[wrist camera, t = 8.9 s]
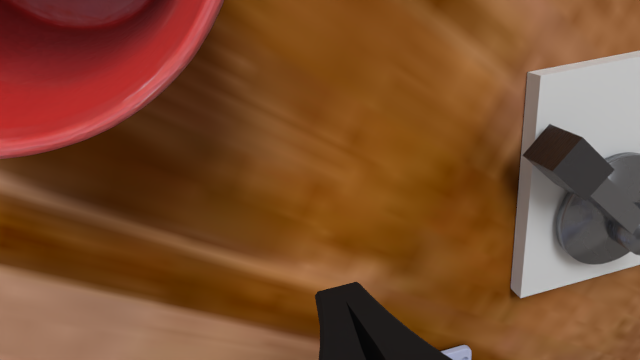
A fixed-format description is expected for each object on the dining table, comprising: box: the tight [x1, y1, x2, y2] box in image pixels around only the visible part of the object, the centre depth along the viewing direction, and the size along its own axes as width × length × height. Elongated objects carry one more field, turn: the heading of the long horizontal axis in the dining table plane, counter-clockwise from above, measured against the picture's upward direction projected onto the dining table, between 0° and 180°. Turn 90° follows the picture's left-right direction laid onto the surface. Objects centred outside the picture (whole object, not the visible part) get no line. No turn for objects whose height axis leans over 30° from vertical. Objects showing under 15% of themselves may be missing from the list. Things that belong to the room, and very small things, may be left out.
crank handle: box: [523, 124, 640, 265], centre depth 24 cm, size 11×7×2 cm, turn 52°
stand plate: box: [511, 51, 640, 298], centre depth 26 cm, size 14×14×1 cm
